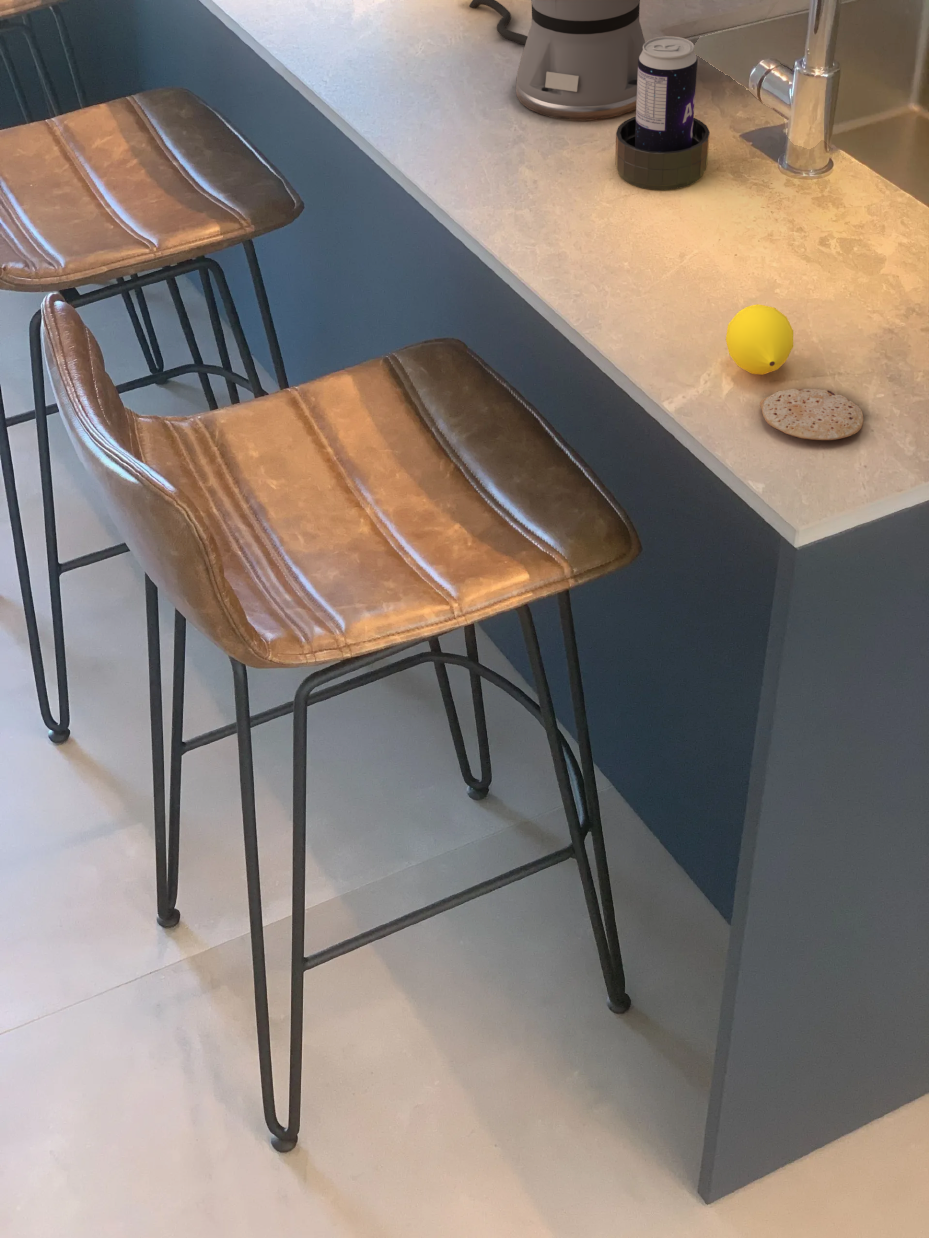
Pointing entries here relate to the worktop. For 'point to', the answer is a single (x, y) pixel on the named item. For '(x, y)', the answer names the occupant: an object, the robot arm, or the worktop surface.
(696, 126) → the bowl
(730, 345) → the lemon
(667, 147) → the beverage can
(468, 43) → the worktop surface
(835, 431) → the flatbread
